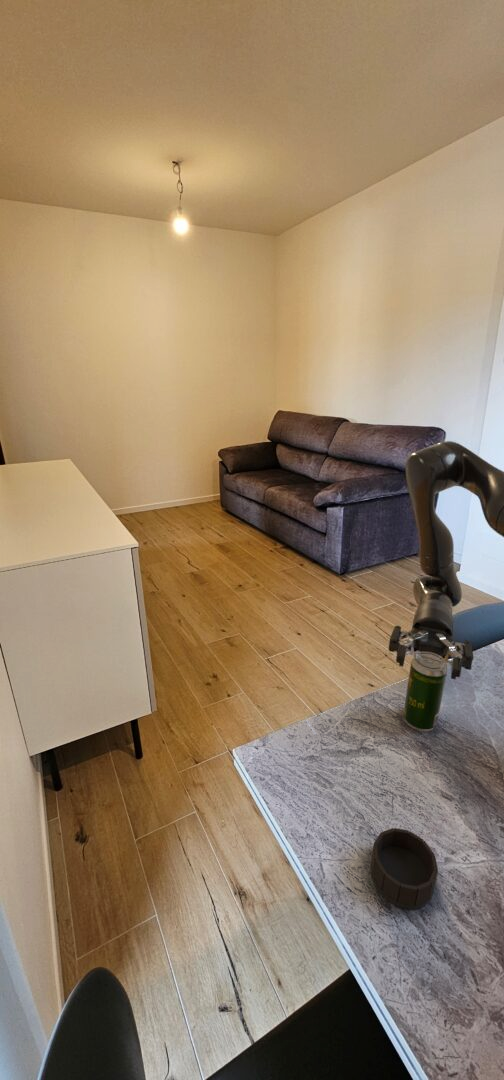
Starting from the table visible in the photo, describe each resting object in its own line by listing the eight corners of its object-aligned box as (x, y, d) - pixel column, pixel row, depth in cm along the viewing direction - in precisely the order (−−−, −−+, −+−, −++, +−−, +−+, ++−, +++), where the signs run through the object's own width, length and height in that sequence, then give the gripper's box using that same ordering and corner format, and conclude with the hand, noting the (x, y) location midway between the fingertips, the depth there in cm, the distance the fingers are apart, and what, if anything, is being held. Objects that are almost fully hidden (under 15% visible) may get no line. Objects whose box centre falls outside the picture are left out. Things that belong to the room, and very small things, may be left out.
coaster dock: (427, 852, 55) (431, 833, 54) (439, 916, 48) (444, 896, 47) (368, 841, 56) (371, 823, 55) (372, 902, 49) (375, 882, 48)
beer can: (438, 716, 77) (449, 656, 73) (434, 737, 72) (446, 674, 68) (405, 706, 79) (414, 647, 75) (399, 726, 74) (409, 664, 70)
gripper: (398, 600, 93) (387, 640, 79) (474, 615, 88) (477, 660, 74) (394, 632, 96) (382, 675, 82) (468, 648, 90) (468, 697, 76)
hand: (427, 668), depth 78 cm, fingers open, 8 cm apart
